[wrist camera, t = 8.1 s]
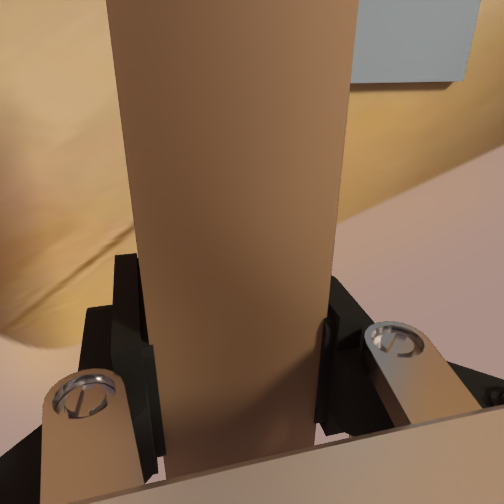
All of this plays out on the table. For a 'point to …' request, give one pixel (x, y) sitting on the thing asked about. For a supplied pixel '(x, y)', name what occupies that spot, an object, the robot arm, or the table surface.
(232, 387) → the wooden beam
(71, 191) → the table surface
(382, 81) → the rubber mat
